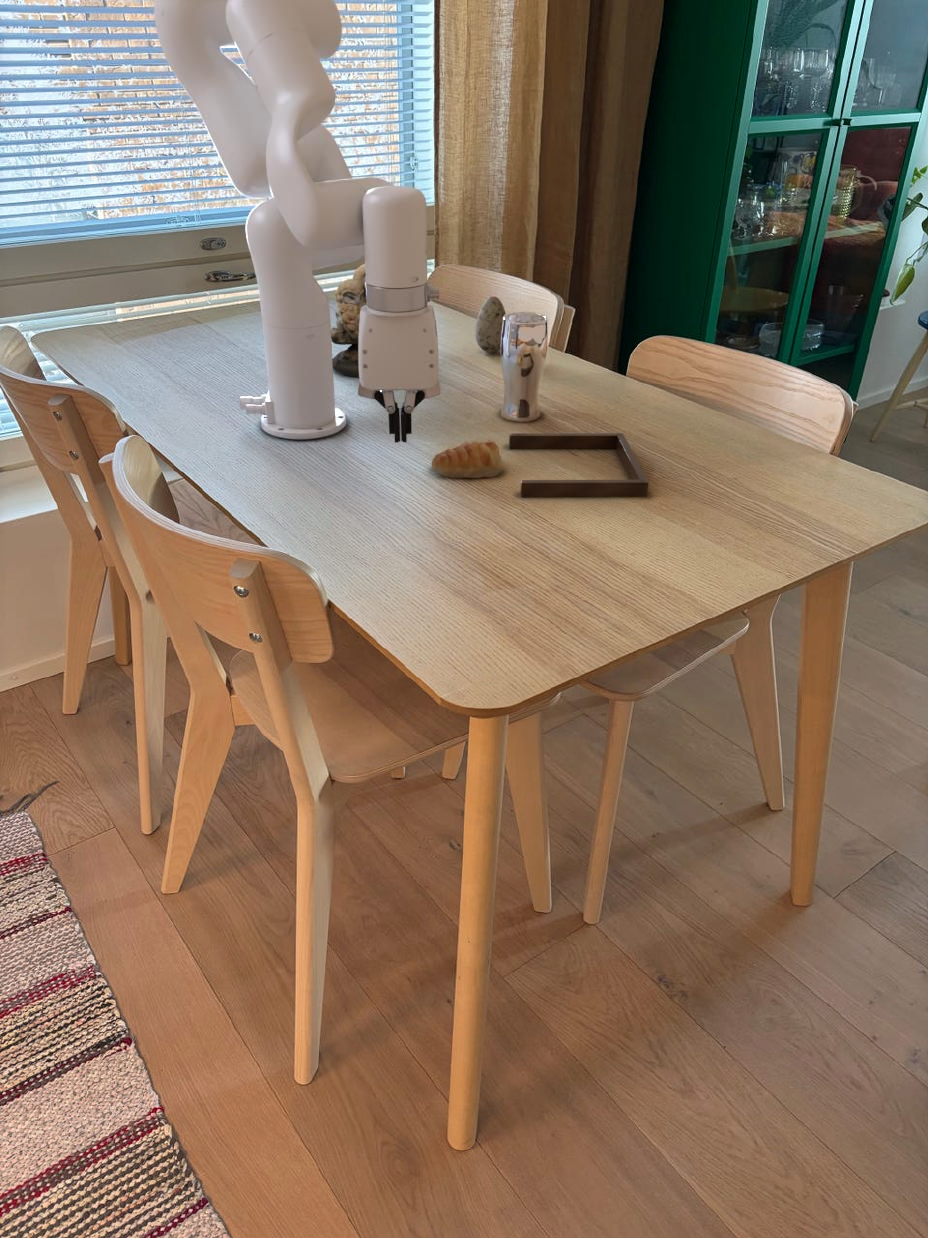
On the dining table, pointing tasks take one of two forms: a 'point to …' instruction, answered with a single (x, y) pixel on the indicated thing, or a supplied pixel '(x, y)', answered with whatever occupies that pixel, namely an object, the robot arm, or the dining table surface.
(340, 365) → the owl figurine
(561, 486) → the corral
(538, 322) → the beer glass
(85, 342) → the dining table surface
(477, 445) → the pastry
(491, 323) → the decorative egg
